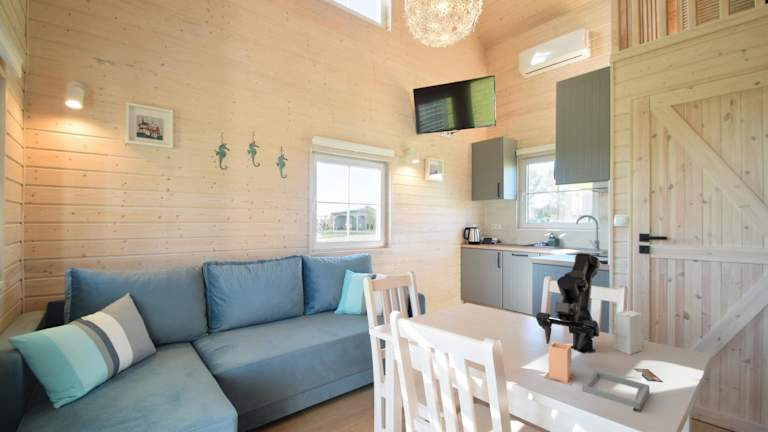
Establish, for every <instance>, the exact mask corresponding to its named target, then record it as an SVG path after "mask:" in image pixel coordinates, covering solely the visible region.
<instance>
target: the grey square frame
mask: <svg viewBox="0 0 768 432" xmlns="http://www.w3.org/2000/svg"><path fill="white" fill-rule="evenodd" d="M598 379H601V380H604V381H605V380H606V381H609V382H612V383H616V384H620V385H624V386H627V387H631V388H634V389H637V393H636V396H635V399H632V398H629V397H627V396H623V395H622V396H621V395H620V394H615V393H612V392H608V391H606V390H601V389H599V388H595V387H593V385H594V384H595V383H596V381H597V380H598ZM581 391H582V392H584V393H586V394H590V395H594V396H597V397H600V398H602V399H606V400H609V401H613V402H617V403H619V404H622V405H625V406H628V407H632V411H635V412H636V413H641V411H642V409H643V407H644V405H645V404H646V401H647V400H648V398H649V395H650V385H649V384H646V383H642V382H639V381H635V380H632V379H628V378H624V377H619V376H617V375H612V374H609V373H605V372H600V371H597V370H595V371H594V373H592V374H591V376H589V378H588V379H587V380H586V381H585V382H584V383H583V385H581Z"/></svg>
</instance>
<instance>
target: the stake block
mask: <svg viewBox="0 0 768 432" xmlns="http://www.w3.org/2000/svg"><path fill="white" fill-rule="evenodd" d="M577 376H578V375H576V374H575V375H574V374H572V377H571V378H570V380H569V381H568V382H564V381H560V380H556V379H553V378H549V371H548V372H547V373H546V375H545V376H544V377H543V378H544V379H545V380H546V379H547V380H550V381H553V382H557V383H562V384H565V385H569V386H572V384H573V383H574V382H575V380H576V379H577Z"/></svg>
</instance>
